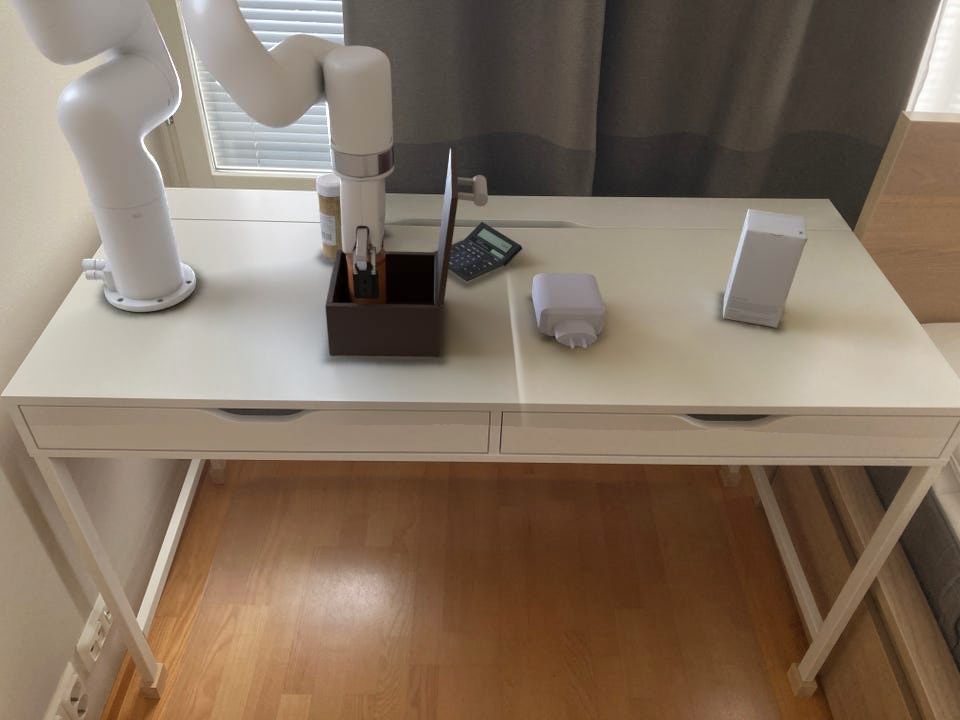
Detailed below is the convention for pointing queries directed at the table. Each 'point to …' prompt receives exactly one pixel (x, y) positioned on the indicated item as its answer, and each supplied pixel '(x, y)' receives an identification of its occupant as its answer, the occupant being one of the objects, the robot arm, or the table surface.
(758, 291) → the cosmetic box
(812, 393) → the table surface
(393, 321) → the dark wooden planter box
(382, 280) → the tin
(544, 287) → the charger
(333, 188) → the sprinkles bottle
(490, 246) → the calculator
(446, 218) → the lid
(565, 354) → the table surface
